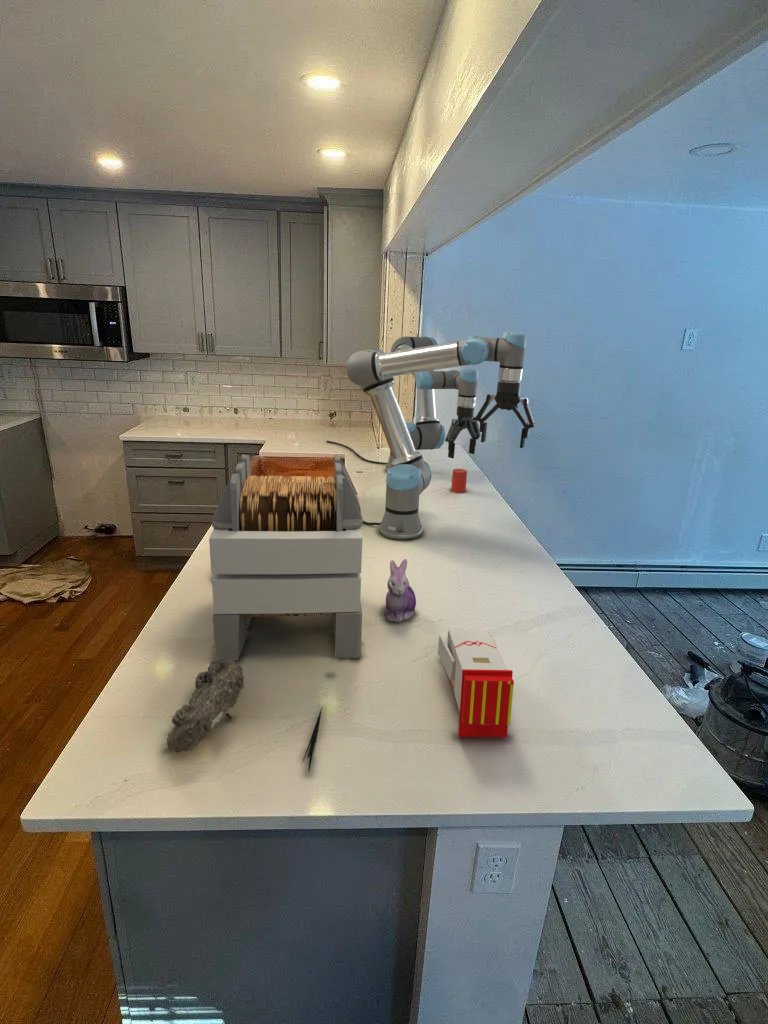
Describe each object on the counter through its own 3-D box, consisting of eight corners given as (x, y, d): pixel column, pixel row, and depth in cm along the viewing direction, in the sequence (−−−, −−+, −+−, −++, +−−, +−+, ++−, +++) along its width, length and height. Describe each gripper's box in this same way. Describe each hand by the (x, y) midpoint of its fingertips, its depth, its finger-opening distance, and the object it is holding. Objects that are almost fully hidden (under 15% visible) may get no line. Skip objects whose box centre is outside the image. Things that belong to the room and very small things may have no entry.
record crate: (234, 590, 156) (226, 444, 142) (353, 588, 159) (357, 447, 146) (212, 662, 124) (200, 485, 110) (361, 659, 128) (367, 486, 114)
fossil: (192, 660, 117) (244, 628, 112) (224, 691, 120) (276, 661, 115) (142, 746, 98) (202, 712, 93) (182, 779, 101) (242, 748, 96)
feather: (331, 679, 122) (336, 673, 122) (307, 777, 96) (313, 769, 95) (324, 675, 122) (329, 669, 121) (298, 772, 95) (304, 764, 95)
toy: (488, 613, 130) (523, 677, 101) (484, 667, 133) (517, 744, 104) (435, 612, 130) (455, 676, 101) (432, 666, 133) (451, 743, 103)
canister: (450, 492, 248) (452, 471, 245) (451, 488, 254) (453, 468, 251) (465, 493, 248) (467, 473, 244) (465, 489, 254) (467, 469, 250)
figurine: (392, 627, 141) (395, 572, 136) (374, 608, 149) (376, 556, 144) (425, 619, 145) (429, 566, 140) (405, 601, 154) (408, 550, 149)
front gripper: (550, 383, 185) (541, 447, 192) (476, 376, 195) (471, 437, 202) (545, 386, 178) (536, 451, 186) (469, 378, 189) (463, 441, 196)
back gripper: (452, 410, 228) (448, 461, 236) (491, 405, 244) (486, 453, 252) (439, 407, 234) (435, 457, 241) (478, 403, 249) (473, 450, 257)
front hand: (502, 444), depth 194 cm, fingers open, 13 cm apart
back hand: (461, 455), depth 246 cm, fingers open, 13 cm apart
